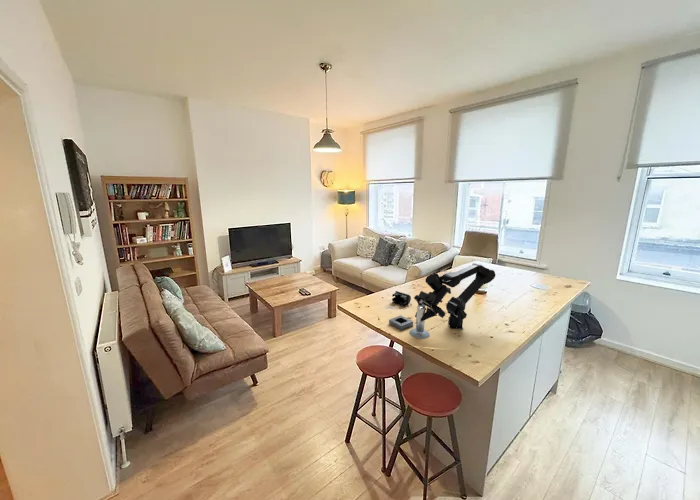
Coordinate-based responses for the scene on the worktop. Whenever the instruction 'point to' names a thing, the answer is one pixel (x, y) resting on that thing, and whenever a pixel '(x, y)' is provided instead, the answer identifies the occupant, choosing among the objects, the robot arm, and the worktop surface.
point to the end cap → (401, 298)
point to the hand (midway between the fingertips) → (418, 318)
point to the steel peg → (418, 319)
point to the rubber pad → (419, 334)
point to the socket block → (400, 322)
